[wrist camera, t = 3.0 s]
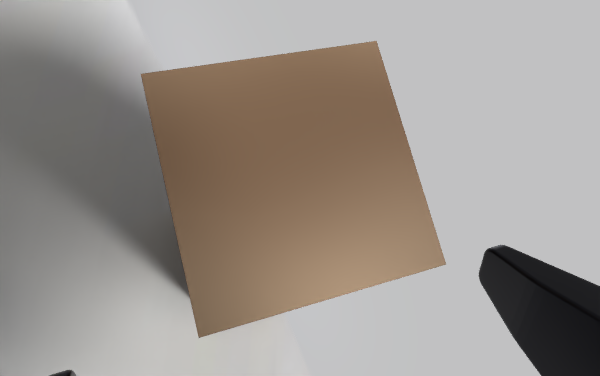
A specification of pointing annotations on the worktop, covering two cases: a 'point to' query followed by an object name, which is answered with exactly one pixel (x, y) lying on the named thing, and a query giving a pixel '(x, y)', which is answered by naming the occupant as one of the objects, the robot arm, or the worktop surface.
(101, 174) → the worktop surface
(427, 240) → the walnut peg
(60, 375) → the robot arm
